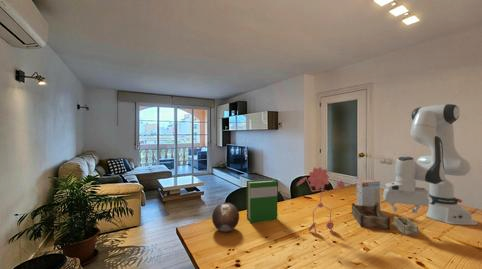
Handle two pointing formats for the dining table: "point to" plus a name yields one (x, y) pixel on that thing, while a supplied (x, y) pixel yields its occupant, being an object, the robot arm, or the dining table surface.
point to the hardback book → (261, 200)
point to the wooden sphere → (225, 217)
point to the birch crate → (406, 226)
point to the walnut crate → (370, 217)
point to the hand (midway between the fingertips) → (404, 211)
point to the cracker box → (368, 193)
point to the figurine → (319, 180)
